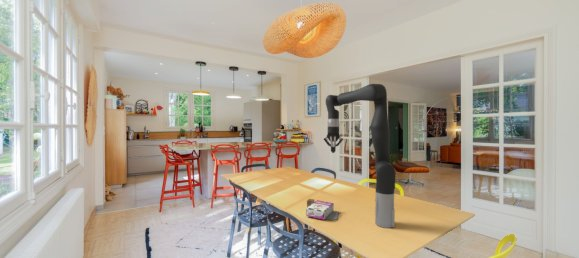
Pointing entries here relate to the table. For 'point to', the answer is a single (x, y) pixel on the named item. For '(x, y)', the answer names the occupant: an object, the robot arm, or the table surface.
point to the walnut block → (310, 202)
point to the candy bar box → (319, 209)
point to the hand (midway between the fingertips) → (333, 152)
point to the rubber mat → (332, 216)
